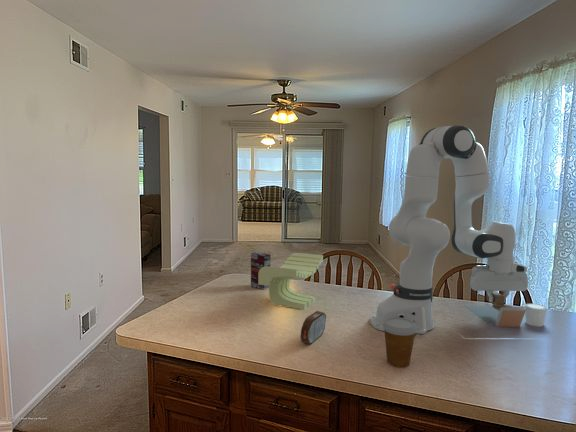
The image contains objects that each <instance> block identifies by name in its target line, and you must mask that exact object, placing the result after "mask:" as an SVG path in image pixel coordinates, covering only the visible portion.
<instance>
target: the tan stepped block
mask: <svg viewBox="0 0 576 432" xmlns="http://www.w3.org/2000/svg"><path fill="white" fill-rule="evenodd" d="M491 294H492V293H491ZM492 296H493V297H495V302H490V301H489V296H488V294H487V293H486V301H487V302H488V303H490V304H491V306H492V307H493V308H495V309H497V310H498V311H500V309H501V307H512V306H511V304H510V305H509V304H505V302H504V298H505V296H503V294H502V293H499V291H493V294H492Z"/></svg>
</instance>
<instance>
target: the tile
mask: <svg viewBox="0 0 576 432" xmlns="http://www.w3.org/2000/svg"><path fill="white" fill-rule="evenodd" d="M525 311H526V310H525V307H523V306H519V307H517V306H516V307H514V306H511V307H501V309H500V312H499V315H498V318H497V321H496V323H494V325H495V326H496V327H498V328H499V327H503V328H504V327H505V328H506V327H508V328H509V327H510V328H511V327H512V328H513V327H516V328H517V327H521V325H522V322H523V319H524V317H525Z"/></svg>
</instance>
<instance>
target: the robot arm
mask: <svg viewBox="0 0 576 432" xmlns="http://www.w3.org/2000/svg"><path fill="white" fill-rule="evenodd" d="M444 159H450V160H451V162H452V164H453V167H454V177H455V191H454V195H453V225H454V226H453V230H452V235H451V231H450V228H449V226H448V225H447V224H446V223H444V222H442V221H440V220H438V219H435V218H432V217H431V218H430V217H427V213H428V210H429V208H430V207H431V206H432V205H433V204H434V203H436V202H437V199H438V191H439V189H438V188H439V177H440V166H441V163H442V161H443V160H444ZM404 179H405V181H404V190H403V191H404V192H403V199H402V202H401V205H400V207H399V210H398V212H397V213H396V215H395V216H394V217H393V218H392V219H391V221H390V222H389V224H388V232H389V235H390V237H391V238H392V239H394V240H395V241H396V242H398V243H400V244H402V245H405V246H408V247H409V251H408V255H407V256H406V258H404V259H403V260H402V261H401V262H400V265H399V283H398V284H395V283H391V284H390V285H389V288H390V289H391V290H392V291H393V294H392V295H390V296H389V297H387V298H386V299H384V300H383V301H381V302H380V303H379V304H378V306H377V309H376V314H371V316H370V317H369V323H370V325H371V326H372V327H373V328H374V329H376V330H378V331H382V332H385V331H384V327H383V324H384V322H385V320H386V319H388V318H393V317H399V318H406V319H409V320H412V321H414V322H415V324H416V327H417V331H416V333H415V334H419V335H420V334H421V335H423V334H425V333H427V331H431V330H432V329H433V330H434V328H435V323H434V319H433V309H432V302H433V298H434V291H433V289H434V287H433V286H432V284H433V283H432V282H433V270H434V265H435V262H436V259H437V257H438V255H439V253H440V252H441V251H443V249H445V248H446V247H447V246H448V244H449V242H450V241H451V245H452V247H453V249H454V250H455V251H456V252H458V253H459V254H464V255H468V256H472V257H476V258H479V259H486V264H485V265H482V264H481V265H477V264H476V265H475V266H473V267H472V269H471V271H470V273H471V277H470V281H469V287H470V288H471V289H472V290H473V291H475V292H476V291H478V292H480V291H481V292H482V291H483V292H486V295H487V294H488V296H489V301H490V302H495V297H493V296H492V294H493V291H496V292H500V291H501V292H503V294H502V295H503V296H505V298H504V303H506V302H507V298H508V296H509V295H510V292H525V291H526V290H527V289H528V283H529V279H528V278H529V277H528V274H527V271H528V267H527V266H526V265H523V264H520V263H519V262H515V257H514V250H515V247H516V230H515V227H514V226H513V225H512V224H510V223H505V222H501V221H495V220H494V221H492V222H491V223H490V224H489V225H488V226H486V227H483V228H481V229H480V230H477V229H475V228H474V227H473V223H472V206H473V203H474V202H475V201H476V200H477V199H479V198H481V197H482V196H483V195H485V193H487V191H488V190H489V186H490V173H489V165H488V160H487V156H486V153H485V150H484V147H483V146H482V144H480V143H479V142H477V140H476V137H475V135H474V132H473V131H472V130H471V129H470V128H469V127H468V126H465V125H459V124H456V125H455V124H454V125H443V126H439V127H435V128H434V127H433V128H432V129H429V130H428V131H426V132H425V133H424V135H423V136H422V138H421V139H420V143H419V144H418V145H416V146H413V147H412V148H411V150H410V151H409V155H408V159H407V163H406V170H405V178H404ZM491 293H492V294H491ZM490 302H489V303H490Z"/></svg>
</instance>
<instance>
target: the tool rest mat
mask: <svg viewBox="0 0 576 432" xmlns="http://www.w3.org/2000/svg"><path fill="white" fill-rule="evenodd" d="M492 306H493V305H464V307H465V308H467V309H468V310H470V311H471V312H472V313H473V314H475V316H477V317H478V318H480V319H481V320H482V321H484V322H485V323H487V324H496V321H497V318H498V315H499V312H500V311H498V310H497V309H495V308H493V307H492Z"/></svg>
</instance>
